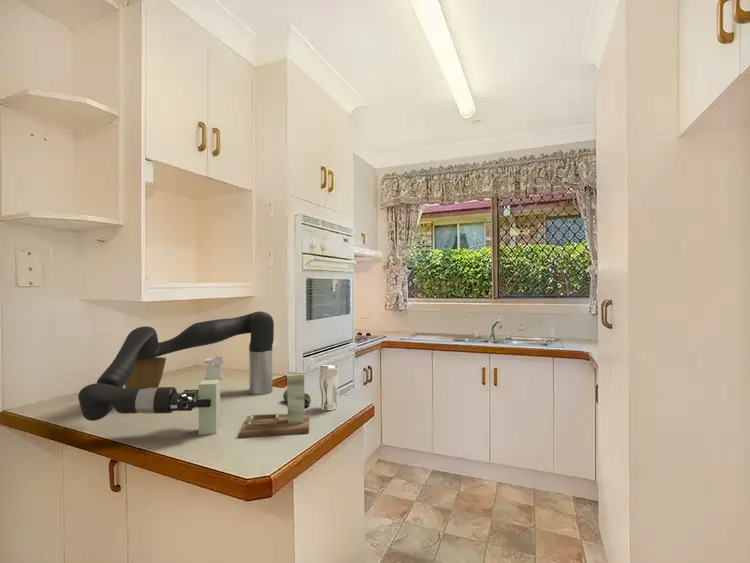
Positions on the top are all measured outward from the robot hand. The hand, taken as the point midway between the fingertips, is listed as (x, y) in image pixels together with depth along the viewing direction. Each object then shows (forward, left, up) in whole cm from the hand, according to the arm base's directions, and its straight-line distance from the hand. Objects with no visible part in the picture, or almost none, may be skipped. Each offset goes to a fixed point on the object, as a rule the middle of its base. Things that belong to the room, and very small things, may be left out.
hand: (214, 399), depth 118 cm
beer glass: (-15, +36, -10) cm, 40 cm away
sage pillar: (0, -1, -10) cm, 10 cm away
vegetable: (-22, +24, -10) cm, 35 cm away
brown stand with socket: (0, +19, -10) cm, 21 cm away
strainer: (-43, -10, -10) cm, 46 cm away
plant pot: (-33, -34, -9) cm, 48 cm away
